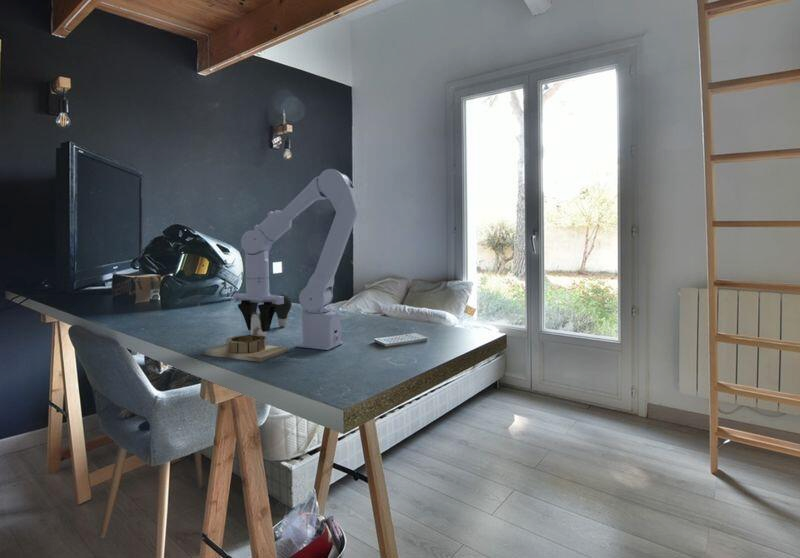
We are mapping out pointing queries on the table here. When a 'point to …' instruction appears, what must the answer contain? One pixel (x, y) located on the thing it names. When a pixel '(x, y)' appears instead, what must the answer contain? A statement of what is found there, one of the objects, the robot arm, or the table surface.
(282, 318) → the light bulb
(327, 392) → the table surface
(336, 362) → the table surface
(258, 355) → the socket base
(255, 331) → the bayonet cap
